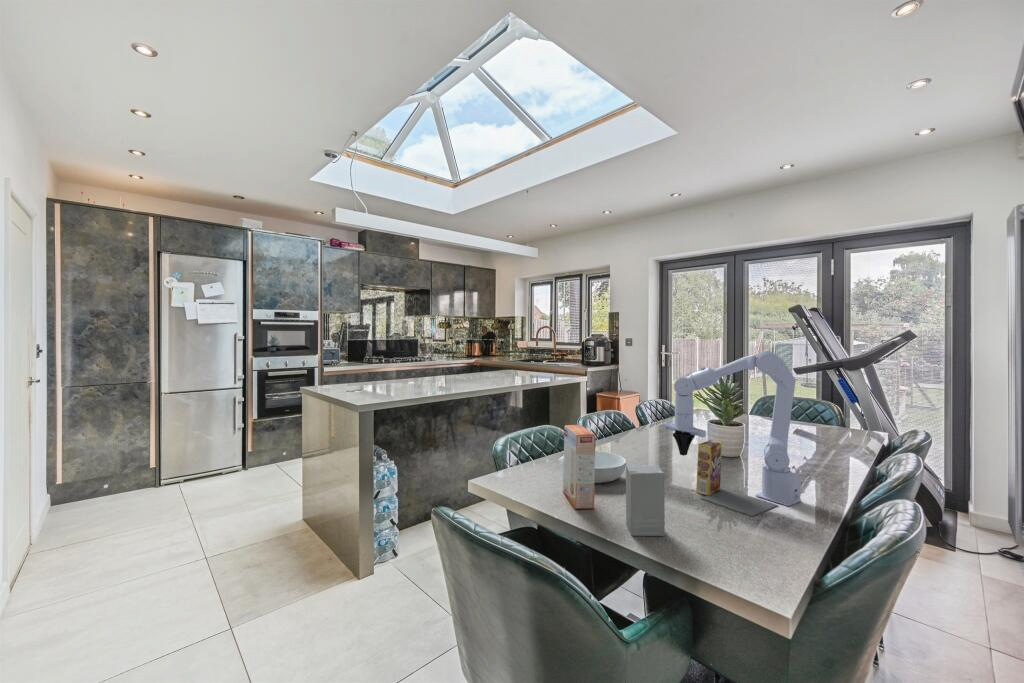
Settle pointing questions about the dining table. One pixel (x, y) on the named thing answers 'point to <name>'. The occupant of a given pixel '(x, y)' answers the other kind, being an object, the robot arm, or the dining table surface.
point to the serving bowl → (608, 466)
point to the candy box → (709, 467)
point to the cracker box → (579, 466)
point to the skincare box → (645, 500)
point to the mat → (739, 502)
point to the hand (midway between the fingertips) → (683, 454)
